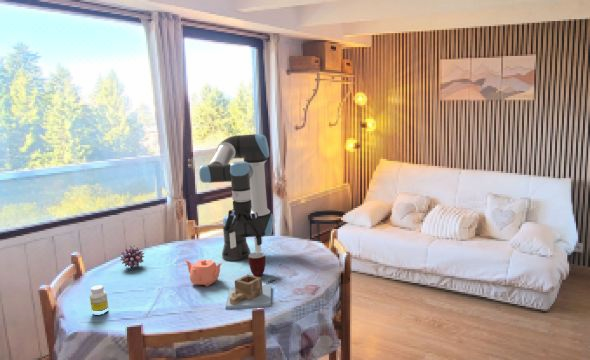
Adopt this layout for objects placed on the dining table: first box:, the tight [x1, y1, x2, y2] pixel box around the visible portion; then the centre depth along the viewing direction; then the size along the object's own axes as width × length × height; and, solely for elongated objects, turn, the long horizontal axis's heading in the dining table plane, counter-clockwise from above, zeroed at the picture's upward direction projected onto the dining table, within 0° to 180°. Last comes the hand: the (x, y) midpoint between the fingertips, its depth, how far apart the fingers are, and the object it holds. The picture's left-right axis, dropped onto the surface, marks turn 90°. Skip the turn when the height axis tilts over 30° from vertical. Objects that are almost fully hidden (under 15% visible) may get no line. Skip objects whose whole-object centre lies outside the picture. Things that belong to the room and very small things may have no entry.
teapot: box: [184, 259, 224, 287], centre depth 207 cm, size 14×14×11 cm
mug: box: [247, 252, 267, 278], centre depth 211 cm, size 11×8×10 cm
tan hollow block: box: [230, 273, 263, 305], centre depth 186 cm, size 14×8×7 cm, turn 142°
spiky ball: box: [120, 244, 145, 268], centre depth 231 cm, size 12×12×12 cm
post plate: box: [225, 284, 272, 310], centre depth 189 cm, size 18×18×6 cm
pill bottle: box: [89, 284, 109, 311], centre depth 182 cm, size 6×6×11 cm
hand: (245, 249), depth 187 cm, fingers open, 13 cm apart
